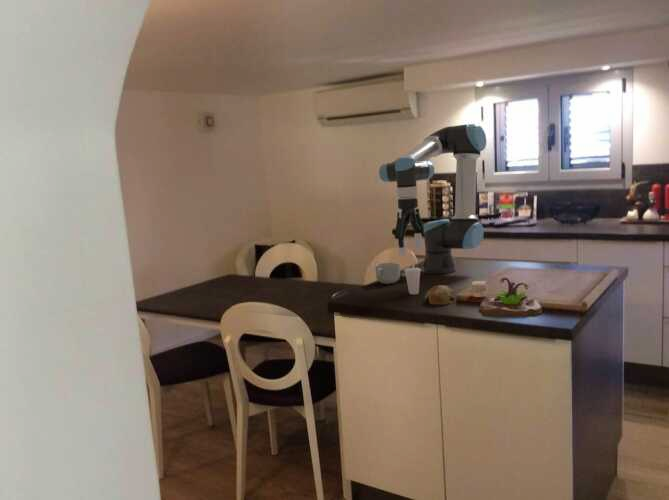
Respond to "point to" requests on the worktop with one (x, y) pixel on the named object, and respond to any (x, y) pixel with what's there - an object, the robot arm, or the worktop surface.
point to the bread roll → (440, 295)
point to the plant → (511, 303)
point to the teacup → (387, 272)
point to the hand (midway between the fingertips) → (411, 252)
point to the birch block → (479, 286)
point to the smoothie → (413, 279)
